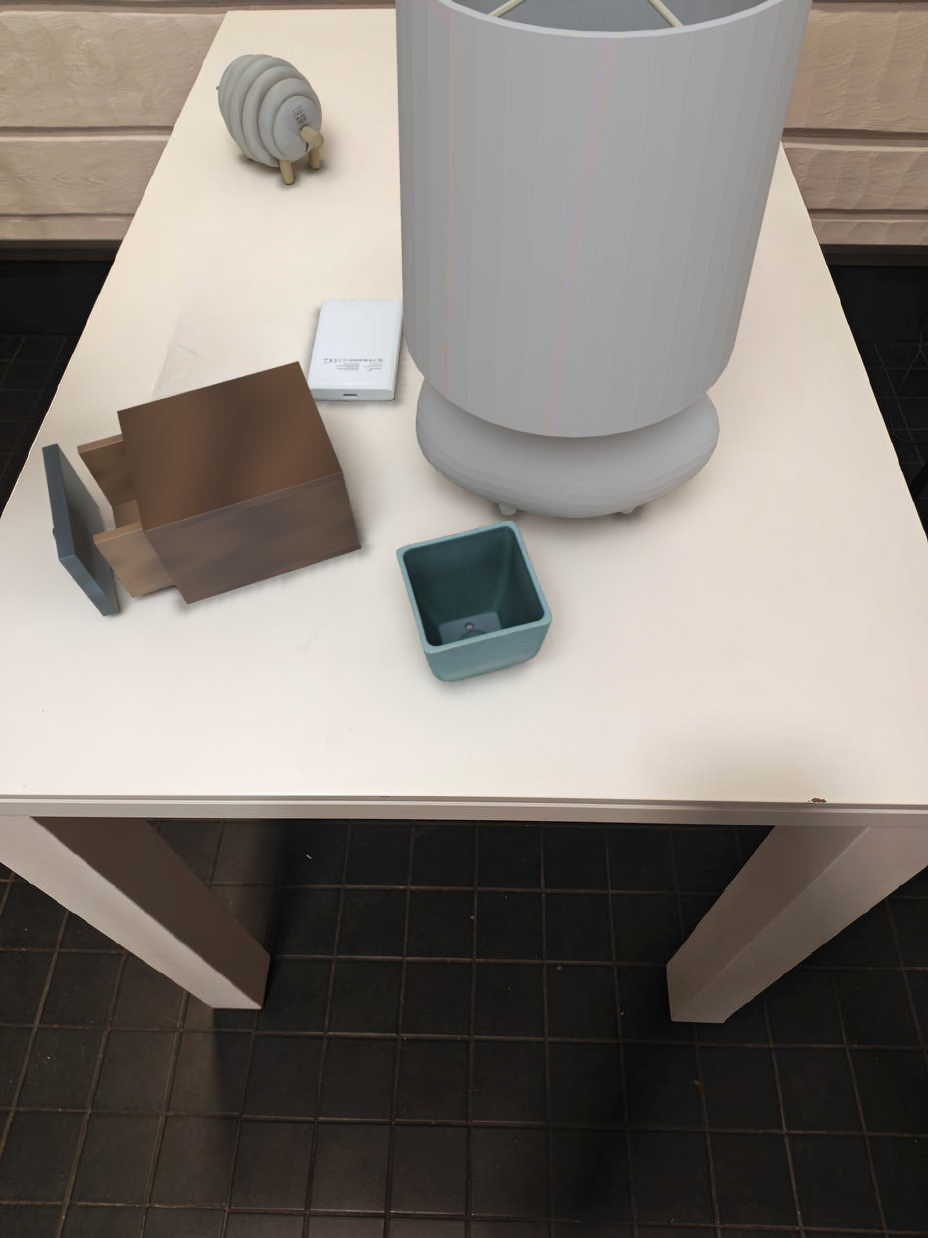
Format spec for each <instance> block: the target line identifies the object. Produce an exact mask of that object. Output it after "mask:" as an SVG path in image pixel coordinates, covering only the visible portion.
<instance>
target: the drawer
mask: <svg viewBox="0 0 928 1238" xmlns="http://www.w3.org/2000/svg"><path fill="white" fill-rule="evenodd" d="M76 449H77V455H79V457H80V458H81V460H82V462H83V463H84V465H85V467H86V469H87V470H88V472H89V473H90V475H91V476H92V478H93V479H94V481H95V483H96V484H97V486H98V488H99V489H100V490H101V492H102V494H103V496H104V497H105V498H106V500H107V502H108V503H109V505H110V506H111V511H112V515H113V520H114V525H115V528H114V529H110V530H107V531H106V530H105V531H104V529H103V523H102V518H101V512H100V507H99V504H97V501H96V500H95V498H94V497H93V495H92V494H91V493H90V491H89V489H88V487H86V485H85V484H84V482H83V480H82V479H81V477H80V476H79V474H78V473H77V471H76V470H75V468H74V467H73V465H72V463H71V461H70V460H69V459H68V457H67V455H66V454H65V453H64V450H62V449H61V447H60V445H59V443H52V444H50V445H46V446H42V447H41V451H42V458H43V464H44V471H45V479H46V483H47V491H48V499H49V504H50V511H51V518H52V524H53V526H52V535H53V538H54V541H55V545H56V551H57V559H58V561H59V563H60V564H61V565H62V566H63V567H64V569H65V570H66V571H67V573H68V575H70V576H71V578H72V579H73V580H74V581H75V583H76V584H77V585H78V587H79V588H80V590H81V591H82V592H83V593H84V594H85V595H86V597H87V598H88V599H89V600H90V602H91V603H92V604H93V606H94V607H95V608H96V609H97V611H98V612H99V613H100V614H101V616H102V617H104V618H105V617H108V616H110V615H114V614H118V613H119V608H118V603H117V602H118V601H117V597H116V591H115V587H114V582H113V575H112V572H114V574H115V576H116V577H117V578H118V579H119V581H120V582H121V584H122V585H123V587H124V588H125V589H126V591H127V592H128V594H129V595H130V597H131V599H132V598H137V597H141V596H143V595H146V594H149V593H153V592H156V591H159V590H163V589H166V588H169V587H171V586H176V585H175V584H174V582H173V580H172V579H171V577H170V575H169V574H168V572H167V570H166V569H165V567H164V566H163V564H162V562H161V561H160V559H159V557H158V556H157V554H156V552H155V551H154V549H153V547H152V546H151V544H150V542H149V541H148V539H147V537H146V536H145V534H144V532H143V528H142V524H141V519H140V515H139V510H138V506H137V501H136V496H135V492H134V487H133V483H132V478H131V474H130V469H129V465H128V460H127V456H126V451H125V447H124V442H123V438H122V433H119V434H115V435H112V436H109V437H105V438H101V439H98V440H95V441H90V442H87V443H84V444H80V445H77V446H76ZM111 569H112V570H111Z"/></svg>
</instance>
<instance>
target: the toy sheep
mask: <svg viewBox="0 0 928 1238" xmlns="http://www.w3.org/2000/svg"><path fill="white" fill-rule="evenodd" d="M215 90H216V91H217V102H218V107H219V112H220V114H221V117H222V119H223V121H224V124H225V126H226V129H227V131H228V133H229V135H230V137H231V138H232V139H233V141H234V142H235V143H236V144H237V146H238V147H239V149H240V150H241V152H242V153H244V158H246V159H247V160H249V161H250V160H252V161H254V162H257V163H260V164H263V165H266V166H269V167H273V168H279V169H280V172H281V176H282V181H283V183H284V184H286V185H291V184H293V183H294V181H295V177H294V172H293V167H292V164H294V163H295V162H296V161H298V160H299V159H301V158H303V157H304V156H306V155H307V156H308V162H309V165H310V167H311V168H312V169H314V170H317V169H320V167H321V165H322V162H321V156H320V152H319V148H321V147H323V145H324V136H323V134H321V133H320V132H321V129H322V123H323V122H322V121H323V112H322V111H323V110H322V104H321V102H320V98H319V96H318V94H317V93H316V91H315V89H314V88H313V87H312V85H311V83H310V81H309V80H308V79H307V77H306V76H305V75H304V74H303V73H301V72H300V71H299V70H298V69H297V68H296V66H294V65H293V64H292V63H291V62H289V61H287V60H286V59H283V58H280V57H277V56H272V55H268V54H263V53H262V54H261V53H260V54H259V53H258V54H244V55H240V56H239V57H236V58H235V59H234V60H232V61H231V62H230V63H229V64H228V65H227V67H226V68H225V69H224V71H223V73H222V75H221V78H220V79H219V84H218V85H217V86H215Z"/></svg>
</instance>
